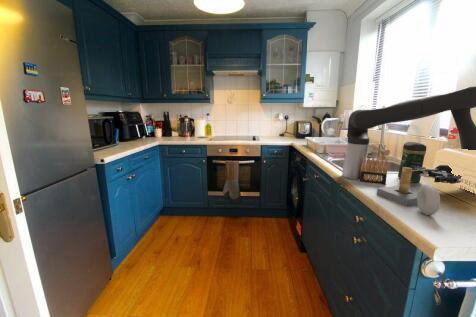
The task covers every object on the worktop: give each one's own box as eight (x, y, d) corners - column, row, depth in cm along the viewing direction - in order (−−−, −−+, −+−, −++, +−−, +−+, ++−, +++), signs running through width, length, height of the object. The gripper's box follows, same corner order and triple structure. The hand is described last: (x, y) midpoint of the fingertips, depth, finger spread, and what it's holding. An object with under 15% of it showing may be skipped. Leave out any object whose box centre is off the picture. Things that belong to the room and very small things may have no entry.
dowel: (395, 196, 88) (400, 167, 86) (401, 196, 89) (406, 166, 87) (403, 199, 86) (408, 169, 83) (408, 198, 86) (414, 168, 84)
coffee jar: (422, 183, 104) (430, 144, 100) (402, 182, 107) (410, 143, 103) (413, 177, 114) (420, 141, 109) (395, 176, 116) (401, 140, 112)
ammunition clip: (359, 181, 107) (362, 156, 104) (359, 180, 109) (362, 156, 106) (385, 184, 102) (389, 159, 100) (385, 183, 104) (389, 158, 101)
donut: (412, 206, 80) (418, 179, 77) (424, 208, 78) (430, 181, 76) (425, 219, 70) (431, 189, 68) (438, 221, 69) (445, 190, 67)
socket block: (376, 194, 91) (377, 188, 90) (398, 191, 95) (399, 185, 94) (406, 206, 80) (407, 199, 79) (429, 202, 84) (431, 195, 83)
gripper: (433, 160, 99) (406, 162, 94) (475, 168, 86) (446, 172, 81) (430, 176, 101) (403, 180, 96) (470, 187, 88) (442, 191, 83)
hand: (423, 176), depth 88 cm, fingers open, 8 cm apart
